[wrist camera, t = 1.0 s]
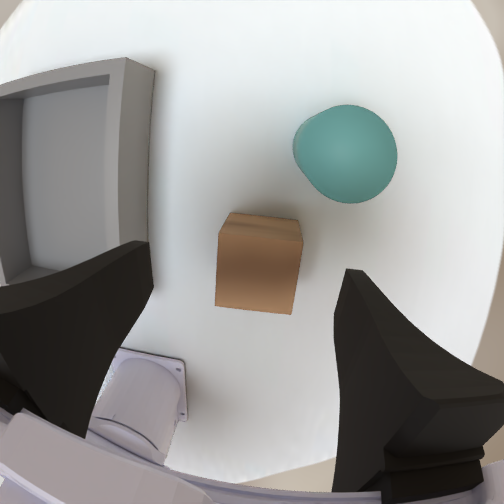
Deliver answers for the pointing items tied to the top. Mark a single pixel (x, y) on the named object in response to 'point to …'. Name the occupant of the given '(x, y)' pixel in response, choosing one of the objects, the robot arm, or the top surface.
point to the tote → (72, 165)
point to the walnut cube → (258, 263)
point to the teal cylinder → (346, 153)
